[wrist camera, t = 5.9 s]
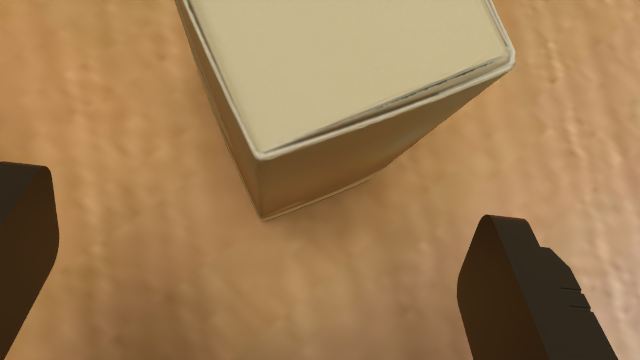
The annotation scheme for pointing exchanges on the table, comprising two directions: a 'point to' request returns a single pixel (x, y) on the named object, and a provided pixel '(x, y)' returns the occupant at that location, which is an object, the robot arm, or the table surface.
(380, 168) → the skincare box
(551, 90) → the table surface
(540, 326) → the robot arm
